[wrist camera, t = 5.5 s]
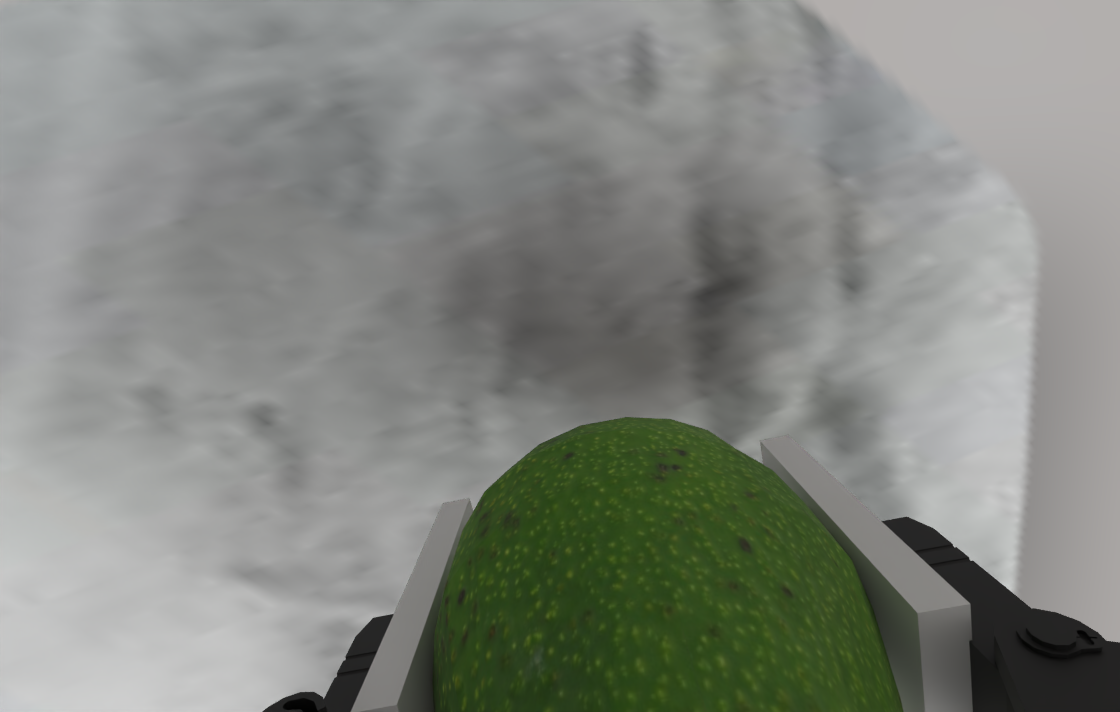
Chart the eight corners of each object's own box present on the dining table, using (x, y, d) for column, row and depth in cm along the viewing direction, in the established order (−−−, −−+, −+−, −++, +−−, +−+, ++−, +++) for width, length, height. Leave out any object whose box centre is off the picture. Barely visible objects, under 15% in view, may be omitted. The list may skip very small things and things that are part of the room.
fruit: (714, 325, 14) (1391, 777, 3) (791, 573, 16) (1406, 1526, 4) (440, 421, 15) (-9, 1116, 3) (541, 648, 17) (482, 1637, 5)
